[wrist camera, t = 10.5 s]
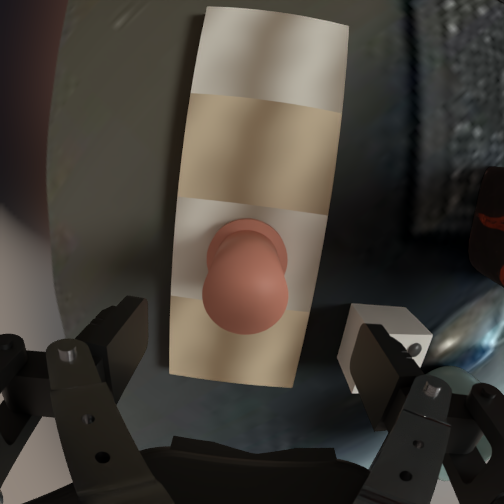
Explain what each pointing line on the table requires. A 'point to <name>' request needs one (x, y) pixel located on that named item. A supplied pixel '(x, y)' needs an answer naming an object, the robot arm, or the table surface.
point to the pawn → (246, 277)
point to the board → (255, 178)
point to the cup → (462, 385)
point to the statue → (489, 227)
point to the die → (396, 324)
